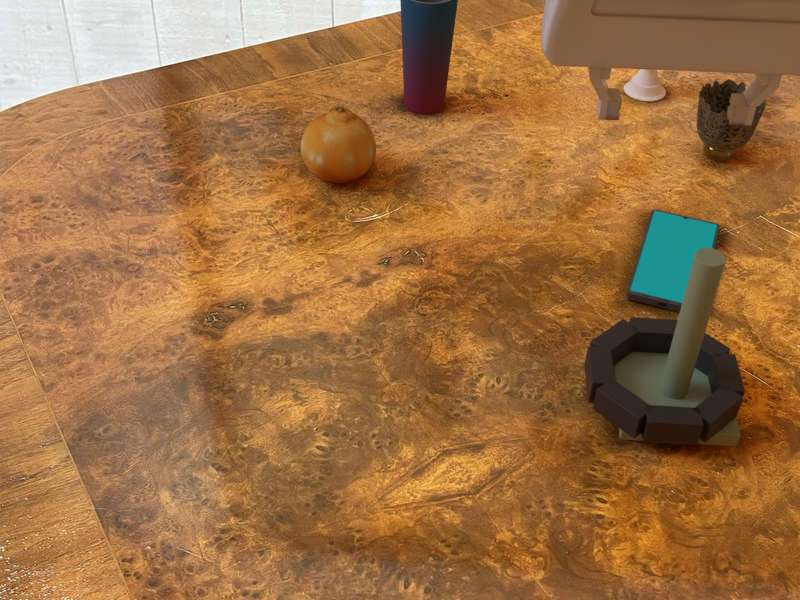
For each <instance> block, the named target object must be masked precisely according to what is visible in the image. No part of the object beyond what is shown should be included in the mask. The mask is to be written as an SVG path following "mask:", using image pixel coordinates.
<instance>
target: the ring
mask: <svg viewBox="0 0 800 600" xmlns="http://www.w3.org/2000/svg"><path fill="white" fill-rule="evenodd" d="M677 321H678V319H670V318H652V317H651V318H650V317H634V316H631V317H630V318H629V321H628V320H626V319H624V318H622V319H621V320H619V321H618V322H616V323H615V324H613V325H612V326H611V327H609V328H608V329H606V330H605V331H603V332H602V333H600V334H599V335H598V336H596V337H594V338H593V339H592V340H590V343H589V345H588V346H587V349H586V354H585V360H584V365H583V366H584V367H583V368H584V376H585V384H586V386H585V387H586V395H587V403H588V404H593V405H592V409H593V411H595V412H596V413H598V414H599V415H600V416H602V417H603V418H604V419H606V420H608V422H610V423H611V424H613V425H614V426H615V427H617V429H619V428H620V429H621V430H623V431H624V432H625V433H627V434H628V435H630V436H631V437H632V438H634V439H635V438H636V437H637V436H638V435H640V434H642V440H643V441H642V442H643V443H654V444H673V445H690V446H698V445H699V444H698V442H699V439H700V440H702V441H703V442H704V443H706V442H707V441H708V440H709V439H711V438H712V437H713V436H714V435H715V434H717V433H718V432H719V431H720V430H721V429H723V428H724V427H725V426H726V425H727V424H729V423H730V422H731V421H732V420H733V419H735V418H737V417H738V414H739V412H740V411H739V410H740V408H741V404H742V402H743V399H744V396H745V394H746V389H745V386H744V385H745V384H744V382H743V377H742V374H741V370H740V367H739V366H740V365H739V363H738V359H737V356H736V353H730V352H731V348H730V347H729V346H727V345H725V344H724V343H723V342H721V341H719V340H718V339H716V338H714V337H713V336H711V335H710V334H708V333H706V332H705V334H704V338H703V341H702V345H701V348H700V351H699V355H698V358H697V362H696V365H695V368H696V369H698V370H699V371H701V372H702V373H704V374H705V375H707V376H708V380H709V384H710V388H711V393H712V394H711V395H710V396H709V397H707V398H706V399H705V400H704V401H702V402H701V403H700V404H699V405H697V406H696V407H695V408H694V407H676V406H658V405H649V404H648V403H646V402H645V401H643V400H642V399H641V398H639V397H638V396H636V395H635V394H633V393H632V392H630V391H629V390H628V389H626V388H625V387H623V386H622V385H620V384H619V383H617V382H616V381H615V376H614V369H613V365H615V364H616V363H618V362H619V361H620V360H622V359H623V358H625V357H626V356H627V355H629V354H630V353H632V352H649V353H668V354H669V351H670V347H671V343H672V340H673V336H674V332H675V328H676V325H677Z"/></svg>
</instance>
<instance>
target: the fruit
mask: <svg viewBox="0 0 800 600" xmlns="http://www.w3.org/2000/svg"><path fill="white" fill-rule="evenodd" d="M300 154H301V157H302V160H303V162H304V164H305V166H306V168H307V169H308V170H309V172H311V173H312V174H313V175H314V176H315V177H317V178H319V179H320V180H321V181H322V180H323V181H325V182H329V183H337V184H344V183H345V184H346V183H350V182H353V181H356V180H358V179H360V178H362V177H363V176H364V175H365V174H366V173H367V172H368V171H369V170H370V168H371V167H372V166H373V164H374V162H375V159H376V156H377V143H376V139H375V135H374V133H373V130H372V128H371V126H370V125H369V124H368V123H367V121H365V119H363V118H362V117H361V116H359V115H358V114H357V113H354V112H353V111H351V110H350V109H348V108H347V107H345V106H344V107H343V106H342V107H341V106H333V107H331V108H330V109H329V110H328V112H326V113H322V114H320V115H318V116H317V117H315V118H313V120H311V122H310V123H309V124H308V125H307V126H306V128H305V129H304V132H303V134H302V137H301V141H300Z"/></svg>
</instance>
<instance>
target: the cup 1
mask: <svg viewBox="0 0 800 600" xmlns="http://www.w3.org/2000/svg"><path fill="white" fill-rule="evenodd" d="M399 2H400V26H401V27H400V28H401V53H402V55H401V57H402V79H403V80H402V81H403V82H402V83H403V104H404V107H405V108H406V109H407V110H408V111H409V112H411V113H414V114H417V115H433V114H436V113H439V112H441V111H442V110H443V109H444V107H445V103H446V96H447V87H448V81H449V74H450V73H449V72H450V65H451V58H452V49H453V42H454V34H455V25H456V18H457V10H458V4H459V3H458V2H459V0H400V1H399Z"/></svg>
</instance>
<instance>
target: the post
mask: <svg viewBox="0 0 800 600" xmlns="http://www.w3.org/2000/svg"><path fill="white" fill-rule="evenodd" d="M726 262H727V258H726V255H725V254H724V253H723V252H721V251H720V250H719V249H713V248H701V249H699V250H698V251H697V252H696V253H695V257H694V261H693V264H692V268H691V272H690V276H689V279H688V283H687V287H686V291H685V294H684V298H683V302H682V306H681V309H680V312H679V313H678V318H677V320H678V321H677V325H676V328H675V332H674V336H673V340H672V343H671V347H670V351H669V354H668V353H649V352H632V353H630V354H629V355H627V356H626V357H625V358H623V359H622V360H620V361H619V362H618V363H616V364H615V365H613V369H614V376H615V381H616V382H617V383H619V384H620V385H622V386H623V387H625V388H626V389H628V390H629V391H630V392H632V393H633V394H635V395H636V396H638V397H639V398H641V399H642V400H643V401H645V402H646V403H648V404H649V405H658V406H676V407H694V408H695V407H696V406H697V405H699V404H700V403H701V402H702V401H704V400H705V399H706V398H707V397H709V396H710V395H711V394H712V393H711V388H710V384H709V380H708V376H707V375H705V374H704V373H702V372H701V371H699V370H698V369H696V368H695V365H696V362H697V358H698V355H699V351H700V348H701V345H702V341H703V338H704V334H705V333H706V330H707V327H708V324H709V321H710V317H711V313H712V310H713V307H714V304H715V299H716V297H717V293H718V290H719V286H720V284H721V283H720V282H721V279H722V277H723V272H724V269H725V265H726ZM618 434H619V440H622V441H638V442H643V440H642V434H640V435H638V436H637V437H636V438H635V439H634V438H632V437H631V436H630V435H628V434H627V433H625V432H624V431H623V430H621V429H620V428H618ZM740 439H741V431H740V426H739V422H738V419H737V417H736V418H735V419H733V420H732V421H731V422H730V423H729V424H727V425H726V426H725V427H724V428H723V429H721V430H720V431H719V432H718V433H717V434H715V435H714V436H713V437H712V438H711V439H709V440H708V441H707V442H706V443H704V442H703V441H702V440H700V439H699V442H698V445H705V446H722V447H738V444H739V441H740Z"/></svg>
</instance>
